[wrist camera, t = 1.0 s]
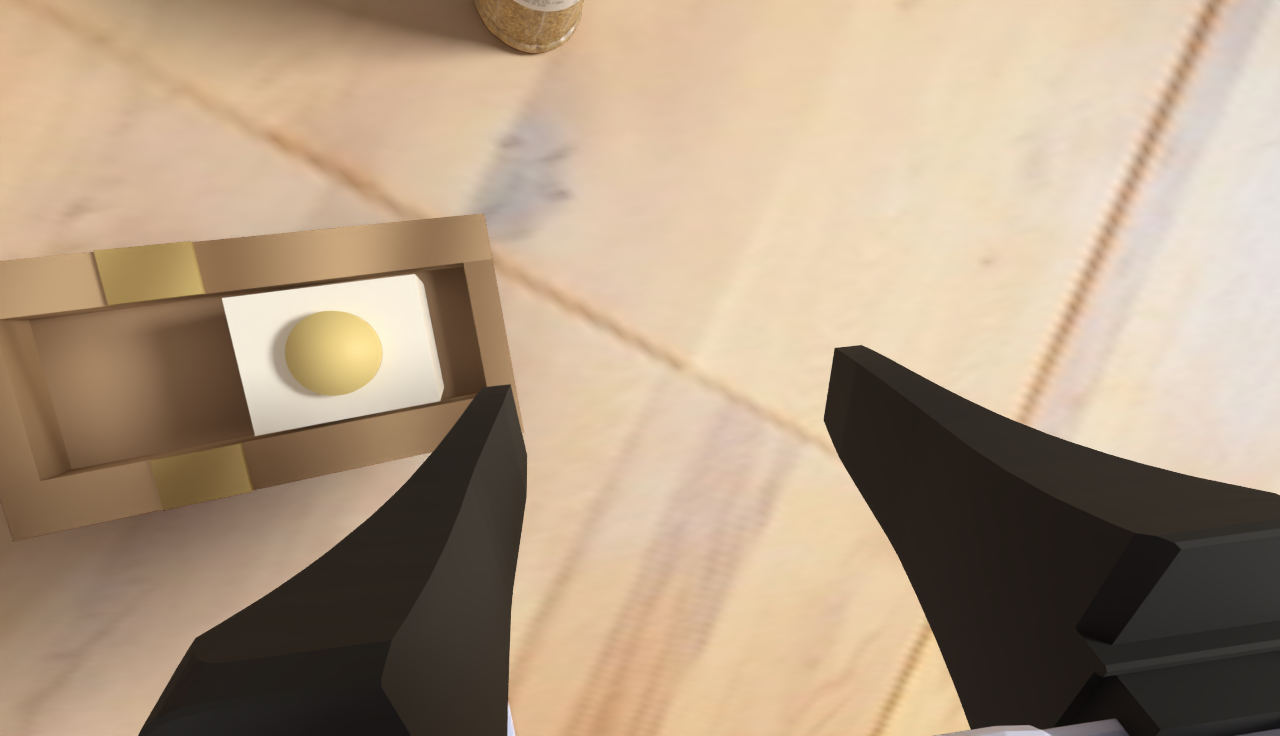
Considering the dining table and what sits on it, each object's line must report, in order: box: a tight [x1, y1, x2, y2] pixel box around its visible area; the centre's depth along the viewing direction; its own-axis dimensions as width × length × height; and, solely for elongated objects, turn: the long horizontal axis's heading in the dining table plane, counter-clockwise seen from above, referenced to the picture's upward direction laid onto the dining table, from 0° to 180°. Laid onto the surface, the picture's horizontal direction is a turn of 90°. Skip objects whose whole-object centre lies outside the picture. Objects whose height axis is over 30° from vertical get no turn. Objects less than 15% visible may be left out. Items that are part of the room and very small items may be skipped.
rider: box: [222, 274, 444, 436], centre depth 18 cm, size 5×4×4 cm
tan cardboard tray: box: [0, 214, 524, 541], centre depth 20 cm, size 15×8×4 cm, turn 99°
